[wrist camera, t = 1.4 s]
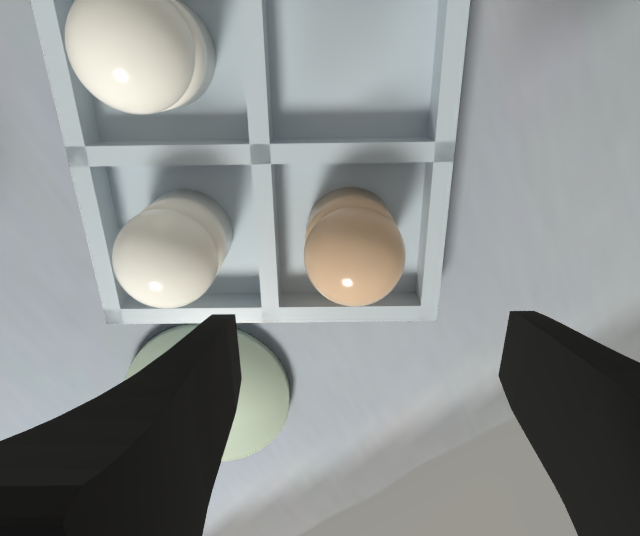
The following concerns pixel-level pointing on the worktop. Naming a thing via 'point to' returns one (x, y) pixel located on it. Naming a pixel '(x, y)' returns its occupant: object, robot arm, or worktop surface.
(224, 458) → the saucer
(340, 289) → the egg brown
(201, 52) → the egg white front
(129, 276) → the egg white back
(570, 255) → the worktop surface
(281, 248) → the carton
